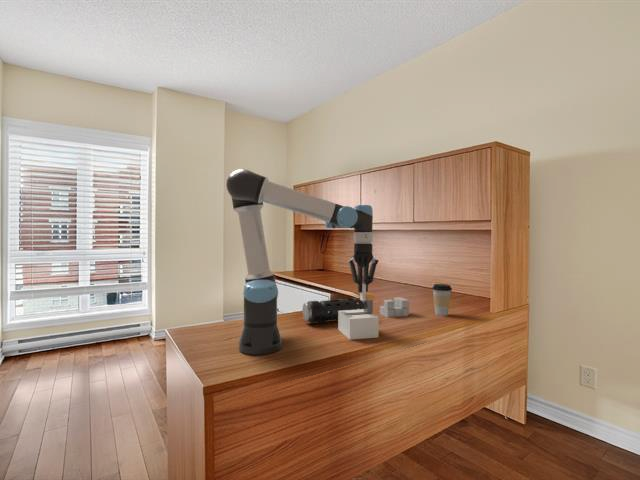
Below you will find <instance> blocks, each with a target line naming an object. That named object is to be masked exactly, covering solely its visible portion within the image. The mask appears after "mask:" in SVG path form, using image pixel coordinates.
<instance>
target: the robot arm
mask: <svg viewBox="0 0 640 480" xmlns="http://www.w3.org/2000/svg"><path fill="white" fill-rule="evenodd" d="M225 186H226V189H227V192H228V194H229V195H230V198H231V203H232V208H233V211H235V212H236V213H237V215H238V221H239V225H240V232H241V239H242V244H243V249H244V256H245V263H246V269H247V275H246V276H245V277H244V281H245V284H244V287H243V293H242V294H243V328H242V331H241V334H240V338H239V340H238V350H239V352H241V353H242V354H245V355H252V356H258V355H259V356H261V355H268V354H272V353H276V352H279V350H281V349H282V347H283V341H282V336H281V333H280V331H279V327H278V295H279V290H278V285H277V281H276V277H275V272H273V271H272V270H271V269H270V263H269V256H268V251H267V244H266V237H265V232H264V225H263V221H262V220H263V219H262V213H261V210H262V208H263V207H264V203H266V204H269V205H271V206H275V207H278V208H281V209H285V210H288V211H292V212H293V213H297V214H301V215H303V216H306V217H310V218H312V219H316V220H319V221H323V222H324V225H325V227H326V228H327V229H353V232H354V233H353V242H354V244H353V256H352V258H350V259H348V260H347V263H348V265H349V268H350V272H351V276H352V280H353V283H355V284H357V292H358V293H359V298H360V300H362V301H366V292H369V285H370V284H372V283H373V282H374V281H373V280H374V277H375V272H376V268H377V265H378V263H379V259H376V258H375V257H374V255H373V244H372V242H373V226H374V225H373V223H374V222H373V218H374V215H373V207H372V205H369V204H357V205H354V207H352V206H349V205H347V206H346V205H345V206H344V205H342V204H338V203H336V202H333V201H330V200H326V199H323V198H321V197H317V196H314V195H312V194H308V193H306V192H303V191H299V190H297V189H293V188H289V187H288V186H284V185H281V184H279V183H275V182H272V181H270V180H269V178H268V177H266V176H264V175H262V174H258V173H256V172H253V171H251V170H249V169H245V168H244V169H243V168H241V169H236V170H234V171H232V172H231V173H230V174H229V176H228V177H227V179H226V185H225ZM355 263H356V264H355ZM356 265H357V269H356ZM369 267H370V268H369Z"/></svg>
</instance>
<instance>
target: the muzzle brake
mask: <svg viewBox="0 0 640 480" xmlns="http://www.w3.org/2000/svg"><path fill="white" fill-rule="evenodd" d="M359 309H363V301H362V300H360V297H352V298H343V299H341V298H340V299H332V300H331V299H329V300H327V299H326V300H320V301H318V300H311V301H310V300H309V301H307V302H304V303H303V305H302V309H301V310H302V317H303V320H304V321H305V322H309V323H310V324H312V323H317V324H324V323H326V322H328V321H329V322H330V321H336V322H338V311H342V310H359Z"/></svg>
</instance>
